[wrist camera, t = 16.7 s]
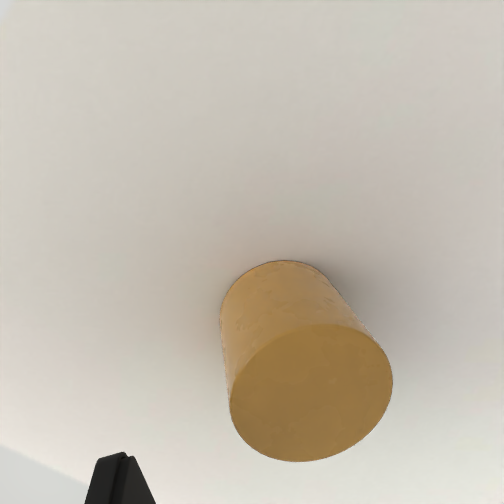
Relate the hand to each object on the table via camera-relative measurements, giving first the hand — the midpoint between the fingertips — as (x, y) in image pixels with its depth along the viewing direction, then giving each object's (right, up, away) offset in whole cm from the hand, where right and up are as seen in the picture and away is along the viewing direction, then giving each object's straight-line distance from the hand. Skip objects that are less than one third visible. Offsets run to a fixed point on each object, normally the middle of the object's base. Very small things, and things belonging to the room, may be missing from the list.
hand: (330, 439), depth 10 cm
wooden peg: (-1, +2, +5) cm, 6 cm away
